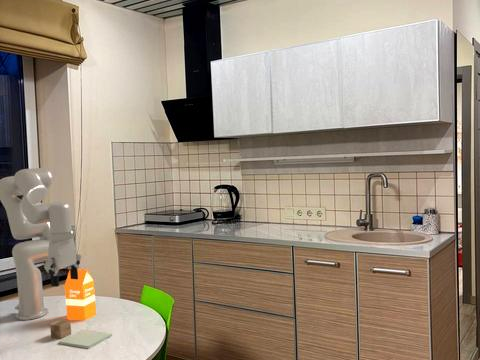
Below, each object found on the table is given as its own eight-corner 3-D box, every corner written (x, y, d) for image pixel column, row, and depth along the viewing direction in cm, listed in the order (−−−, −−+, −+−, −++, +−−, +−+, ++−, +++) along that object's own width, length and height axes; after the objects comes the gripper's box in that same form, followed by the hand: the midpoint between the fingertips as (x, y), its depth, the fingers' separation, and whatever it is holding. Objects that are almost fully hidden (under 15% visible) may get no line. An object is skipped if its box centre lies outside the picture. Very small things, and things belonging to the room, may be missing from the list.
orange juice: (85, 320, 196) (81, 271, 195) (66, 319, 199) (63, 271, 198) (96, 314, 204) (93, 267, 203) (79, 313, 207) (75, 266, 205)
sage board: (58, 343, 173) (58, 341, 173) (83, 331, 184) (82, 329, 184) (88, 348, 167) (88, 346, 167) (112, 335, 178) (112, 333, 178)
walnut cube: (51, 337, 180) (50, 324, 179) (61, 332, 184) (60, 319, 184) (61, 339, 178) (60, 326, 177) (71, 334, 182) (70, 321, 182)
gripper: (70, 232, 189) (74, 276, 190) (35, 241, 173) (39, 288, 174) (85, 232, 186) (89, 277, 187) (51, 241, 170) (55, 289, 171)
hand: (65, 282), depth 180 cm, fingers open, 9 cm apart
